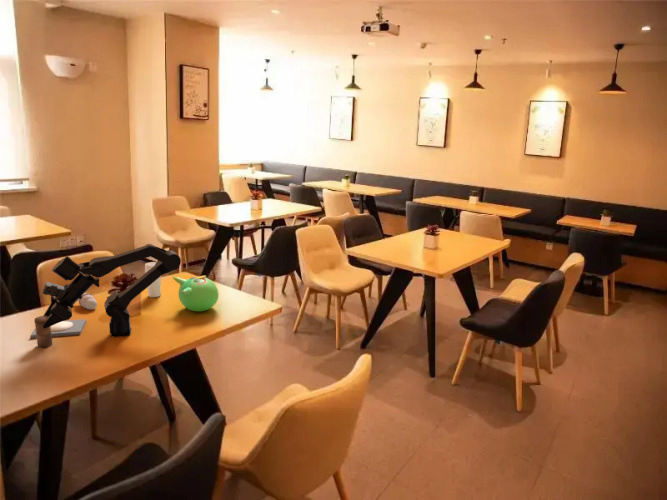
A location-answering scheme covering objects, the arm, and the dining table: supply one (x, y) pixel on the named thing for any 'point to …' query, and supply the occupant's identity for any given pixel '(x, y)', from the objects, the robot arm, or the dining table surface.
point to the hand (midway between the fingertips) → (43, 322)
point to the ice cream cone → (88, 301)
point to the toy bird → (197, 293)
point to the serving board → (65, 328)
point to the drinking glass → (155, 287)
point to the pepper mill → (43, 332)
